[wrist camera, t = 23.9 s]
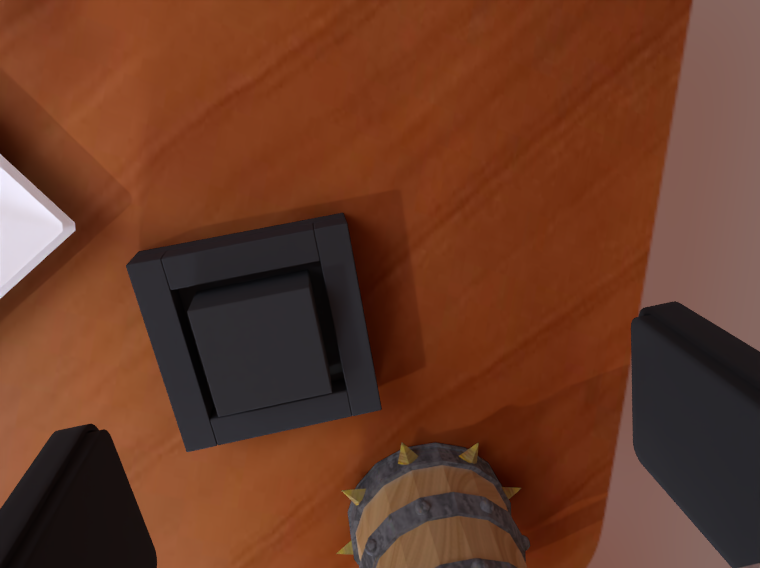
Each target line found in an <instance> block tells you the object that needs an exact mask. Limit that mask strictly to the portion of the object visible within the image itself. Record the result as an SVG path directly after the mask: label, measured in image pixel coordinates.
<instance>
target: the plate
mask: <svg viewBox="0 0 760 568" xmlns="http://www.w3.org/2000/svg"><path fill="white" fill-rule="evenodd" d="M74 231H76V230H75V222H74V221H73V220H71V219H70V218H69V217H68V216H67V215H66V214H65V213H64V212H63V211H62V210H61V209H59V208H58V207H57V206H56V205H55V204H54V203H53V202H52V201H51V200H50V199H49V198H48V197H46V196H45V195H44V194H43V193H42V192H41V191H40V190H39V189H38V188H37V187H36V186H34V185H33V184H32V183H31V182H30V181H29V180H28V179H27V178H26V177H25V176H24V175H23V174H21V173H20V172H19V171H18V170H17V169H16V168H15V167H14V166H13V165H12V164H11V163H9V162H8V161H7V160H6V159H5V158H4V157H3V156H2V155H1V154H0V299H1V298H2V297H3V296H4V295H5V294H6V293H7V292H8V291H9V290H10V289H12V288H13V287H14V286H15V285H16V284H17V283H18V282H19V281H20V280H22V279H23V278H24V277H25V276H26V275H27V274H28V273H29V272H30V271H31V270H33V269H34V268H35V267H36V266H37V265H38V264H39V263H40V262H41V261H42V260H44V259H45V258H46V257H47V256H48V255H49V254H50V253H51V252H52V251H53V250H55V249H56V248H57V247H58V246H59V245H60V244H61V243H62V242H63V241H65V240H66V239H67V238H68V237H69V236H70V235H71V234H72V233H73V232H74Z"/></svg>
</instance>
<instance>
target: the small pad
mask: <svg viewBox="0 0 760 568" xmlns="http://www.w3.org/2000/svg"><path fill="white" fill-rule="evenodd" d="M187 313H188V317H189V320H190V323H191V327H192V330H193V333H194V337H195V340H196V344H197V347H198V350H199V354H200V357H201V360H202V364H203V367H204V370H205V374H206V377H207V381H208V384H209V387H210V391H211V394H212V397H213V401H214V404H215V408H216V411H217V414H218V416H219V417H220V416H225V415H230V414H234V413H239V412H244V411H248V410H253V409H258V408H262V407H267V406H272V405H276V404H281V403H286V402H291V401H295V400H300V399H305V398H309V397H314V396H319V395H323V394H328V393H332V385H331V377H330V369H329V363H328V359H327V354H326V349H325V344H324V340H323V335H322V330H321V326H320V321H319V316H318V312H317V307H316V302H315V298H314V293H313V288H312V284H311V279H310V274H309V270H302V271H296V272H291V273H286V274H281V275H276V276H271V277H266V278H261V279H256V280H251V281H245V282H240V283H235V284H230V285H225V286H220V287H215V288H210V289H205V290H200V291H197V292H196V294H195V296H194V298H193V300H192V302H191V305H190V307H189V309H188V311H187Z"/></svg>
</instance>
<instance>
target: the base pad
mask: <svg viewBox="0 0 760 568" xmlns="http://www.w3.org/2000/svg"><path fill="white" fill-rule="evenodd" d="M126 268H127V271H128V274H129V277H130V280H131V283H132V286H133V289H134V292H135V295H136V298H137V301H138V304H139V307H140V310H141V313H142V316H143V320H144V323H145V326H146V329H147V332H148V335H149V338H150V341H151V344H152V347H153V350H154V353H155V356H156V359H157V362H158V365H159V369H160V372H161V375H162V378H163V381H164V384H165V387H166V390H167V393H168V396H169V399H170V402H171V405H172V408H173V411H174V414H175V417H176V421H177V424H178V427H179V430H180V433H181V436H182V439H183V442H184V445H185V448H186V451H187V452H190V451H195V450H199V449H204V448H209V447H213V446H217V444H218V445H221V444H226V443H231V442H235V441H240V440H244V439H249V438H254V437H258V436H263V435H267V434H272V433H277V432H281V431H286V430H291V429H295V428H300V427H304V426H309V425H314V424H318V423H323V422H327V421H332V420H337V419H341V418H346V417H350V416H355V415H360V414H365V413H369V412H374V411H378V410H381V409H382V408H381V403H380V397H379V392H378V386H377V381H376V376H375V370H374V365H373V359H372V354H371V349H370V343H369V338H368V332H367V327H366V322H365V316H364V311H363V305H362V300H361V295H360V289H359V284H358V278H357V273H356V268H355V262H354V257H353V251H352V246H351V240H350V235H349V230H348V224H347V221H346V219H345V216H344V214H343V213H339V214H334V215H329V216H323V217H318V218H313V219H308V220H302V221H297V222H292V223H287V224H281V225H276V226H271V227H265V228H260V229H255V230H250V231H244V232H239V233H234V234H229V235H223V236H218V237H213V238H208V239H202V240H197V241H192V242H187V243H181V244H176V245H171V246H166V247H160V248H155V249H150V250H145V251H139V252H138V253H137V254H136V255H135V256H134V257H133V258H132V259H131V260H130V262H129V263H128V264H127V265H126ZM302 270H309V274H310V279H311V284H312V288H313V293H314V298H315V302H316V307H317V312H318V316H319V321H320V326H321V330H322V335H323V340H324V344H325V349H326V354H327V359H328V363H329V369H330V377H331V385H332V393H328V394H323V395H319V396H314V397H309V398H305V399H300V400H295V401H291V402H286V403H281V404H276V405H272V406H267V407H262V408H258V409H253V410H248V411H244V412H239V413H234V414H230V415H225V416H220V417H219V416H218V414H217V411H216V408H215V404H214V401H213V397H212V394H211V391H210V387H209V384H208V381H207V377H206V374H205V370H204V367H203V364H202V360H201V357H200V354H199V350H198V347H197V344H196V340H195V337H194V333H193V330H192V327H191V323H190V320H189V317H188V313H187V311H188V309H189V307H190V305H191V302H192V300H193V298H194V296H195V294H196V292H197V291H200V290H205V289H210V288H215V287H220V286H225V285H230V284H235V283H240V282H245V281H251V280H256V279H261V278H266V277H271V276H276V275H281V274H286V273H291V272H296V271H302Z"/></svg>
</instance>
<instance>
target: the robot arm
mask: <svg viewBox="0 0 760 568" xmlns="http://www.w3.org/2000/svg"><path fill="white" fill-rule="evenodd" d="M631 352H632V406H633V407H632V412H633V445H634V450H635V452H636V455H637V457H638V459H639V461H640V462H641V464H642V465H643V466H644V467H645V468H646V469H647V471H648V472H649V473H650V474H651V475H652V476H653V477H654V479H655V480H656V481H657V482H658V483H659V484H660V485H661V487H662V488H663V489H664V490H665V491H666V492H667V494H668V495H669V496H670V497H671V498H672V499H673V500H674V502H676V504H677V505H678V506H679V507H680V509H681V510H682V511H683V512H684V513H685V514H686V515H687V516H688V518H689V519H690V520H691V521H692V522H693V523H694V525H695V526H696V527H697V528H698V529H699V530H700V532H702V534H703V535H704V536H705V537H706V538H707V540H708V541H709V542H710V543H711V544H712V545H713V546H714V548H715V549H716V550H717V551H718V552H719V553H720V555H721V556H722V557H723V558H724V559H725V560H726V561H727V562H728V564H729V565H730V566H731V567H732V568H760V352H759V351H758V350H756V349H754V348H753V347H751V346H749V345H748V344H746V343H745V342H743V341H741V340H740V339H738V338H736V337H735V336H733V335H731V334H730V333H728V332H726V331H725V330H723V329H721V328H720V327H718V326H716V325H715V324H713V323H712V322H710V321H708V320H707V319H705V318H703V317H702V316H700V315H698V314H697V313H695V312H694V311H692V310H690V309H688V308H687V307H685V306H684V305H682V304H680V303H678V302H670V303H664V304H660V305H655V306H650V307H645V308H643V309H642V310H641V311H640V313H639V317H636V318H634V319H633V320H632V323H631ZM0 568H157V557H156V551H155V548H154V545H153V543H152V540H151V538H150V535H149V532H148V530H147V527H146V525H145V522H144V520H143V517H142V515H141V512H140V509H139V507H138V504H137V502H136V499H135V497H134V494H133V492H132V489H131V486H130V484H129V481H128V479H127V476H126V474H125V471H124V469H123V466H122V463H121V461H120V458H119V456H118V453H117V451H116V448H115V446H114V443H113V440H112V438H111V436H110V434H109V433H108V431H107V430H98V428H97V427H96V426H95V425H93V424H87V425H82V426H77V427H73V428H68V429H63V430H58V431H55V432H54V433H53V434H52V435H51V437H50V438H49V440H48V441H47V443H46V444H45V445H44V447H43V448H42V450H41V451H40V453H39V454H38V456H37V457H36V458H35V460H34V461H33V463H32V464H31V466H30V467H29V469H28V470H27V471H26V473H25V474H24V476H23V477H22V479H21V480H20V482H19V483H18V484H17V486H16V487H15V489H14V490H13V492H12V493H11V495H10V496H9V497H8V499H7V500H6V502H5V503H4V505H3V506H2V508H1V509H0Z"/></svg>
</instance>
